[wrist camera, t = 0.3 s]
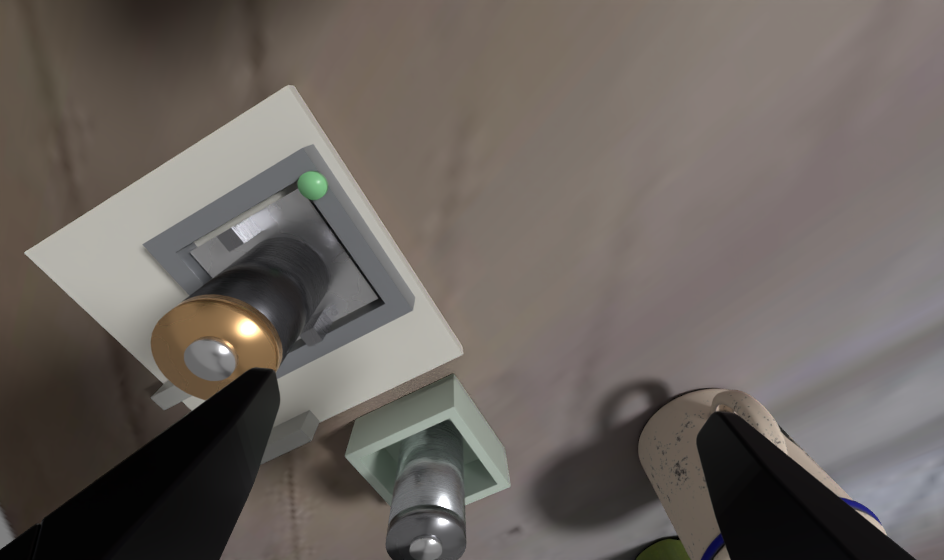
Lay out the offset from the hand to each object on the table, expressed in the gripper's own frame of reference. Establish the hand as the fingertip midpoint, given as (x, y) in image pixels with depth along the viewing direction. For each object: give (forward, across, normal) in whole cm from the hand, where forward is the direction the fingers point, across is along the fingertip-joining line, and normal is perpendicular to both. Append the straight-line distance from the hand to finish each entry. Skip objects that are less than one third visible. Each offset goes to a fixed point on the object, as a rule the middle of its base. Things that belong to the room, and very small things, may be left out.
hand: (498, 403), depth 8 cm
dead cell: (+11, +1, +17) cm, 20 cm away
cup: (+12, +1, +17) cm, 21 cm away
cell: (+11, +9, +6) cm, 16 cm away
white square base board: (+13, +11, +8) cm, 19 cm away
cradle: (+12, +9, +6) cm, 16 cm away
